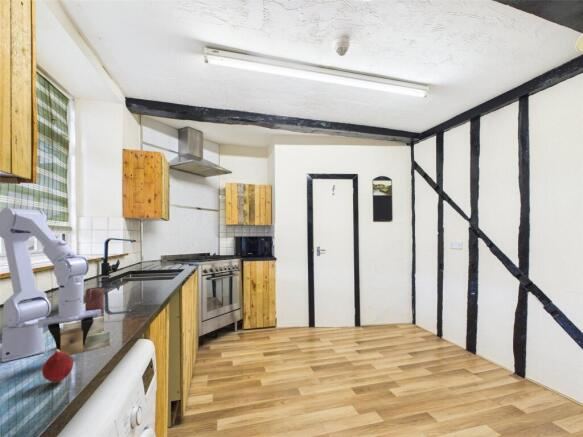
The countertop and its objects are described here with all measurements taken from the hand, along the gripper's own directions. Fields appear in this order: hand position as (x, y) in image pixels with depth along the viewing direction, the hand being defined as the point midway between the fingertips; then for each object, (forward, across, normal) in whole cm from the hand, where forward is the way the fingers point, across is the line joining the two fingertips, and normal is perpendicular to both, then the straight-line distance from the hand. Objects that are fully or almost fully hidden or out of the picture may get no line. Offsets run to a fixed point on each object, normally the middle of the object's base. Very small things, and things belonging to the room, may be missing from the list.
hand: (70, 347), depth 84 cm
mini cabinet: (+2, 0, 0) cm, 2 cm away
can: (+4, +11, +33) cm, 35 cm away
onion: (+4, -4, -14) cm, 15 cm away
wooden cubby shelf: (+3, +5, +9) cm, 11 cm away
